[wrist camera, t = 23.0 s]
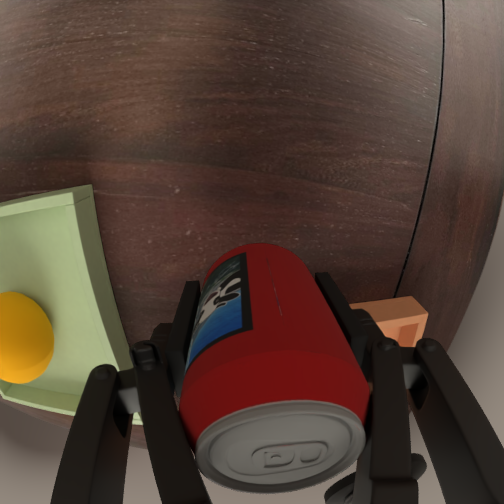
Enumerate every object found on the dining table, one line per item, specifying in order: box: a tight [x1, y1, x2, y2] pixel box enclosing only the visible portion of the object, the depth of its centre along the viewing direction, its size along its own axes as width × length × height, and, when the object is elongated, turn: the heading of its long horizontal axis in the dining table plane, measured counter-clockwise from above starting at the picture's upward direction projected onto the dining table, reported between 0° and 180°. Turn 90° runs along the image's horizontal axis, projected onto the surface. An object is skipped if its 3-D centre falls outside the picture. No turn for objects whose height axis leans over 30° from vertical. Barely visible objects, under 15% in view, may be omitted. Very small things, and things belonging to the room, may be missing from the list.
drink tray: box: [349, 296, 428, 347], centre depth 25 cm, size 14×12×3 cm
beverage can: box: [178, 243, 370, 494], centre depth 13 cm, size 7×7×12 cm
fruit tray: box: [0, 184, 143, 425], centre depth 21 cm, size 22×20×3 cm
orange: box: [0, 291, 54, 384], centre depth 19 cm, size 8×8×8 cm
